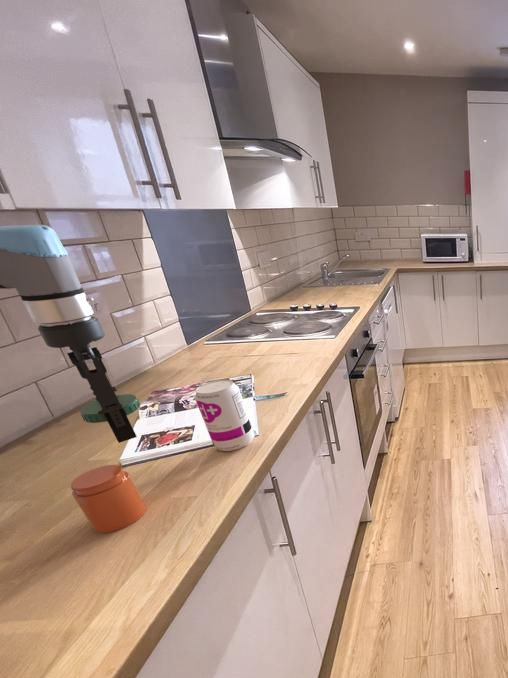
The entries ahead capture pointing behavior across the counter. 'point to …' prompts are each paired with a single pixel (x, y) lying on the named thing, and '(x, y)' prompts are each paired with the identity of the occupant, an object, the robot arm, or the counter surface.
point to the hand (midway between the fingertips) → (123, 431)
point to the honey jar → (108, 498)
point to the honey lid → (91, 409)
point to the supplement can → (224, 415)
